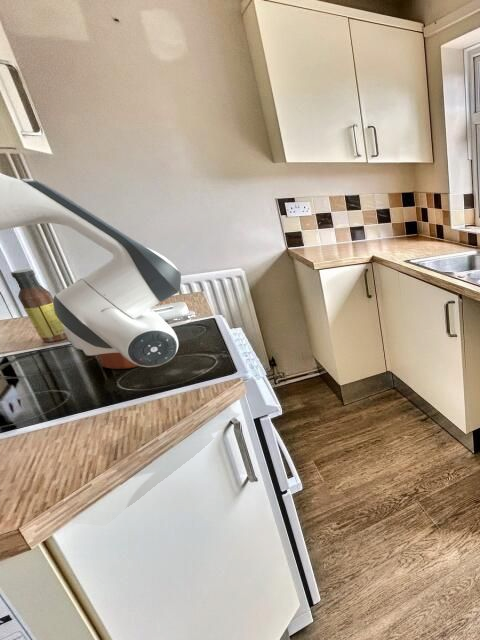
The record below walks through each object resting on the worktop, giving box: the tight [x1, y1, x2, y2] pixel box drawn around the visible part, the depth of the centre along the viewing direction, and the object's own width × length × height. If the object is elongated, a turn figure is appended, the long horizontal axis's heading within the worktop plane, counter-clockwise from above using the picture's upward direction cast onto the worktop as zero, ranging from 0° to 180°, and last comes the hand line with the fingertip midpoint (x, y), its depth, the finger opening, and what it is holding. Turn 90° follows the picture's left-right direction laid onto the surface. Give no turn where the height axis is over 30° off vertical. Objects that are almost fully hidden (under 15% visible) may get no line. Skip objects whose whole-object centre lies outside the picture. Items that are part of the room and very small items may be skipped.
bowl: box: [96, 353, 139, 370], centre depth 106 cm, size 14×14×6 cm
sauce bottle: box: [10, 268, 68, 343], centre depth 116 cm, size 6×6×20 cm
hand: (126, 314), depth 94 cm, fingers open, 8 cm apart
